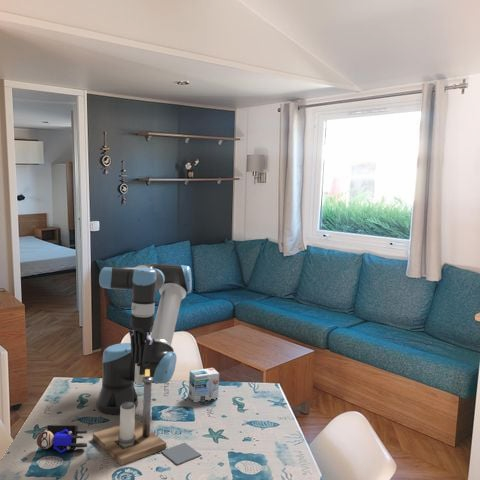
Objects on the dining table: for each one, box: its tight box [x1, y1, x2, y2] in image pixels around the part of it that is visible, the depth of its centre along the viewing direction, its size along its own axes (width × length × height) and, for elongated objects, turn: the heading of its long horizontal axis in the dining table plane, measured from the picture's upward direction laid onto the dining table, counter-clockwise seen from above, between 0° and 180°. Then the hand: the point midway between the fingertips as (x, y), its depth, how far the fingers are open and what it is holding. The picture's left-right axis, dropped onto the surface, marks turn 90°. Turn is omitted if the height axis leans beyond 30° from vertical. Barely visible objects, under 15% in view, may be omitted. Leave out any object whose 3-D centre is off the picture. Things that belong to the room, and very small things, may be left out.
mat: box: [160, 442, 202, 466], centre depth 154 cm, size 9×9×1 cm
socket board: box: [92, 419, 167, 466], centre depth 158 cm, size 19×16×2 cm
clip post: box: [142, 376, 154, 438], centre depth 159 cm, size 4×4×20 cm
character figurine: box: [36, 424, 89, 454], centre depth 153 cm, size 8×7×15 cm
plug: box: [118, 402, 136, 449], centre depth 155 cm, size 5×5×15 cm
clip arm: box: [145, 369, 150, 377], centre depth 166 cm, size 2×13×3 cm, turn 11°
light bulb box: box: [188, 367, 220, 403], centre depth 196 cm, size 11×7×11 cm, turn 118°
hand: (139, 382), depth 166 cm, fingers closed
